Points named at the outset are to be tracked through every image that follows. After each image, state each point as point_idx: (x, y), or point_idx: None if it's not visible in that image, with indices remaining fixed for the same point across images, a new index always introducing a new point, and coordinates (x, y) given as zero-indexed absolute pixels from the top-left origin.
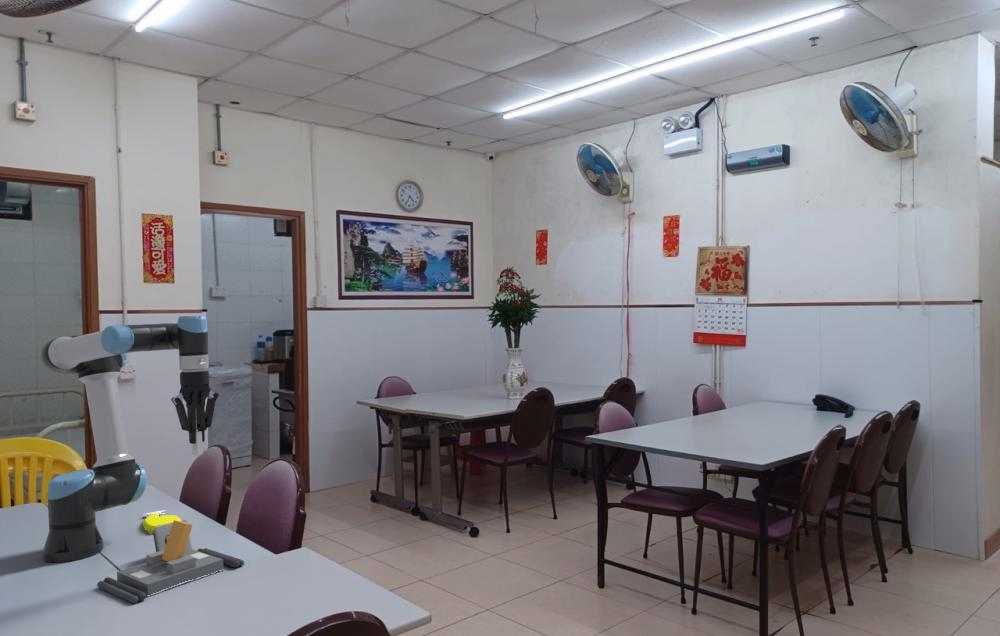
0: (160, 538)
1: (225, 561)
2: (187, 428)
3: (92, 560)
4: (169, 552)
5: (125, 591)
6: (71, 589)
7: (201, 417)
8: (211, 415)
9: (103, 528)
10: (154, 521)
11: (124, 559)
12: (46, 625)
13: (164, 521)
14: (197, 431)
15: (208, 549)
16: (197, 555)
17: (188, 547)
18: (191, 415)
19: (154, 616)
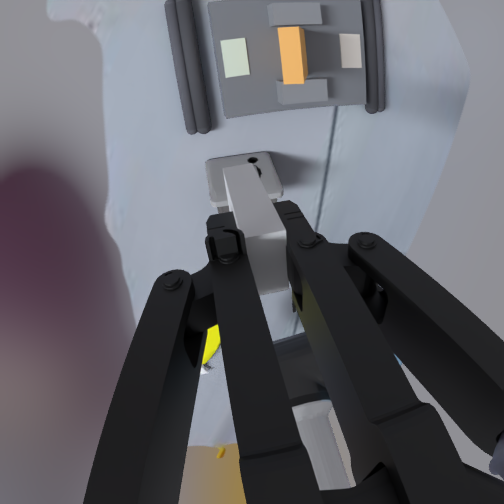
0: (271, 175)
1: (194, 22)
2: (374, 240)
3: (331, 239)
4: (305, 54)
5: (377, 28)
6: (399, 134)
7: (261, 331)
8: (142, 357)
9: None
10: (211, 330)
11: (302, 208)
12: (453, 38)
13: None
14: (268, 254)
15: (189, 117)
16: (237, 61)
17: (212, 163)
18: (381, 337)
19: None
